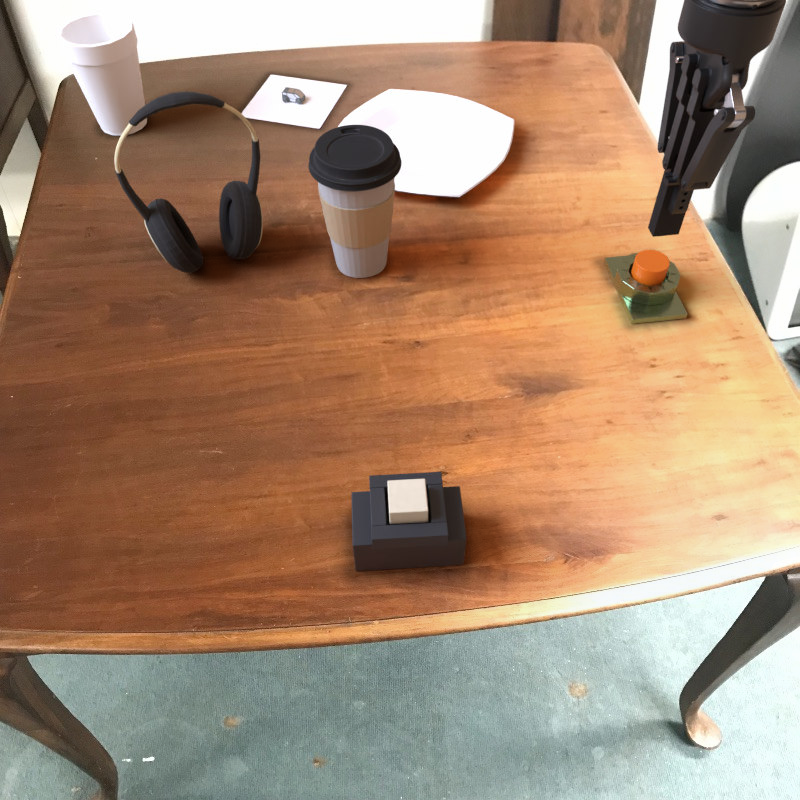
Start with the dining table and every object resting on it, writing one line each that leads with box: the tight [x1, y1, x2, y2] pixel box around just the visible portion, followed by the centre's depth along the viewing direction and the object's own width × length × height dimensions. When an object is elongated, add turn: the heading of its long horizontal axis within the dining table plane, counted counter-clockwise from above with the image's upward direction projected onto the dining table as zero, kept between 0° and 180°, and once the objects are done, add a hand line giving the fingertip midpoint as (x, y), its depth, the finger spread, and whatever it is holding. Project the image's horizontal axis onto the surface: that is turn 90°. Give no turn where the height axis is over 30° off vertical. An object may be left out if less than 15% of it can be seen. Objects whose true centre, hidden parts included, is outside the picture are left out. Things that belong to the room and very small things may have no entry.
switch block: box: [603, 252, 688, 325], centre depth 84 cm, size 10×6×2 cm, turn 7°
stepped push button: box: [350, 471, 467, 572], centre depth 63 cm, size 9×6×6 cm, turn 93°
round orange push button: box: [631, 249, 671, 286], centre depth 83 cm, size 4×4×2 cm
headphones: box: [114, 90, 264, 274], centre depth 82 cm, size 9×15×20 cm, turn 112°
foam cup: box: [55, 11, 148, 137], centre depth 102 cm, size 10×9×13 cm
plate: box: [337, 88, 516, 199], centre depth 102 cm, size 23×23×2 cm
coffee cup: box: [308, 125, 402, 279], centre depth 83 cm, size 9×9×15 cm
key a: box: [387, 479, 428, 524], centre depth 61 cm, size 3×3×2 cm
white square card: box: [240, 74, 348, 130], centre depth 110 cm, size 12×12×2 cm
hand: (663, 230), depth 79 cm, fingers closed
